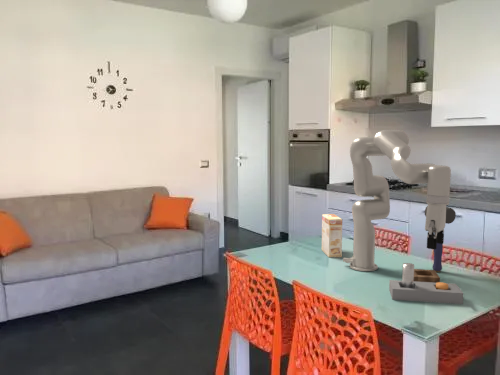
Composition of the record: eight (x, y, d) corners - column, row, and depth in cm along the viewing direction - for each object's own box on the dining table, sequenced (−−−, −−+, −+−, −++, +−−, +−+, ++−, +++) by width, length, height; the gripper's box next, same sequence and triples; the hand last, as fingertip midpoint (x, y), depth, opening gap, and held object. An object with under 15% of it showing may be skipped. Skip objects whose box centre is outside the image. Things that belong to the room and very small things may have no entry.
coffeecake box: (342, 257, 217) (342, 219, 215) (328, 257, 217) (328, 219, 214) (334, 249, 232) (334, 213, 230) (321, 249, 231) (321, 214, 229)
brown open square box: (412, 291, 169) (412, 276, 168) (408, 282, 179) (408, 268, 178) (439, 292, 167) (440, 277, 166) (433, 284, 177) (434, 270, 176)
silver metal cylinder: (402, 297, 160) (403, 265, 159) (401, 293, 164) (402, 262, 163) (413, 297, 160) (415, 266, 158) (412, 294, 163) (413, 263, 162)
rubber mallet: (454, 274, 189) (457, 207, 185) (440, 276, 186) (443, 208, 183) (433, 266, 200) (436, 202, 197) (420, 268, 198) (423, 203, 194)
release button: (436, 298, 158) (437, 285, 157) (434, 294, 162) (434, 281, 161) (449, 299, 157) (449, 286, 156) (446, 295, 161) (446, 282, 160)
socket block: (392, 302, 158) (392, 288, 158) (389, 292, 168) (389, 279, 167) (462, 306, 154) (463, 293, 153) (455, 296, 163) (455, 283, 163)
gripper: (433, 196, 165) (430, 239, 167) (419, 201, 151) (417, 249, 153) (454, 197, 160) (451, 242, 163) (442, 204, 147) (439, 253, 149)
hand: (435, 245), depth 158 cm, fingers open, 9 cm apart
